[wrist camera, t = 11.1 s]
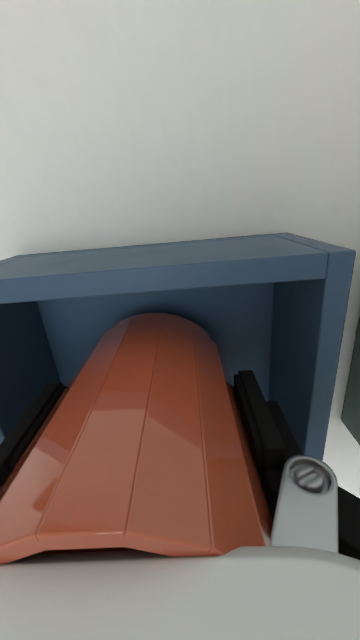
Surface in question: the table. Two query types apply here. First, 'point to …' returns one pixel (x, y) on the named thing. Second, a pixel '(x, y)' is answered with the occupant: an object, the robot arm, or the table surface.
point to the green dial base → (353, 394)
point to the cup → (139, 454)
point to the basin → (185, 315)
